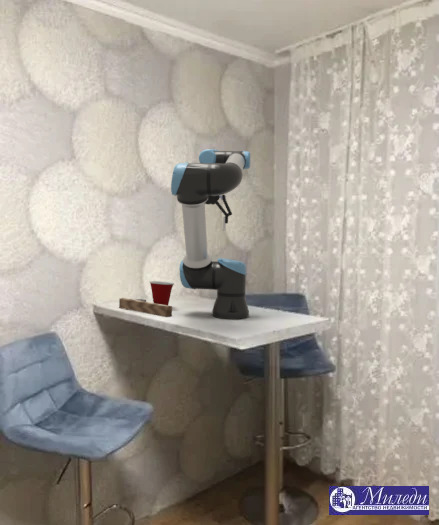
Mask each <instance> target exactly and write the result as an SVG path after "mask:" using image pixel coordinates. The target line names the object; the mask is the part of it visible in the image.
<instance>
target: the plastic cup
mask: <svg viewBox="0 0 439 525" xmlns="http://www.w3.org/2000/svg"><path fill="white" fill-rule="evenodd" d="M149 284H150V289H151V295H152V303H156V304H162V305H168V306H169V303H170V299H171V293H172V289H173V287H174V285H175V283H173V282H168V281H156V280H153V281H151V280H150V281H149Z"/></svg>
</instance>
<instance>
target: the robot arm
mask: <svg viewBox="0 0 439 525" xmlns="http://www.w3.org/2000/svg"><path fill="white" fill-rule="evenodd" d="M250 167H251V153H250V151H246V150H218V149H215V148H214V149H213V148H212V149H211V148H209V149H203V150H202V151H200V153H199V155H198V162H188V161H187V162H178V163H177V164H175V166H174V168H173V170H172V175H171V180H170V181H171V183H170V192H171V195H172V196H176V199H177V200H176V201H177V202H178V203H179V204H181V211H182V222H183V232H184V234H183V235H184V244H185V255H184V257H183V259H182V260H181V261H180V263H179V268H178V269H179V277H180V279H179V280H180V283H181V285H182V286H183V287H184V288H185V289H192V290H209V291H210V290H213V291H216V298H215V302H214V304H213V308H212V310H211V311H212V312H211V316H212V317H215V318H219V319H227V320H241V319H240V318H243V319H247V318H249V317H250V311H249V307H248V306H249V305H248V302H247V300H246V288H247V287H246V282H247V280H246V279H247V266H246V263H245V262H243V261H241V260H236V259H231V258H223V257H219V258H218V259H217V261H213V260H212V256H211V255H210V254H209V253H208V237H207V220H206V205H216V206H217V207H218V209H219V210H220V211H221V213H222V214H223V215H224V216H223V218H222V220H223V221H222V231H224V232H225V231H226V226H227V225H226V224H229V217H230V216H232V215H233V213H232V209H231V208H230V206H229V203H228V201H227V196H226V194H228V193H230V192H232V191H233V190H235V189H236V188H238V187H239V185H240V184H241V182H242V179H243V170H245V169H246V170H247V169H250ZM220 199H221V201H223V204H224V206H225V208H226V209H224V208H223V206H222V205H221V203H219V202H220V201H219V200H220ZM226 210H227V211H226Z"/></svg>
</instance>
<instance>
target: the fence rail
mask: <svg viewBox="0 0 439 525" xmlns="http://www.w3.org/2000/svg"><path fill="white" fill-rule="evenodd" d="M118 302H119V304H118V306H119V308H120V309H125V310H130V311H134V312H139V313H143V314H144V313H145V314H149V315H153V316H158V317H165V318H169V317H172V316H173V306H172V305H169V304H168V305H162V304H156V303H153V302H150V301H147V299H144V298H138V299H137V298H136V299H133V298H127V297H121V298H119V300H118Z"/></svg>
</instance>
